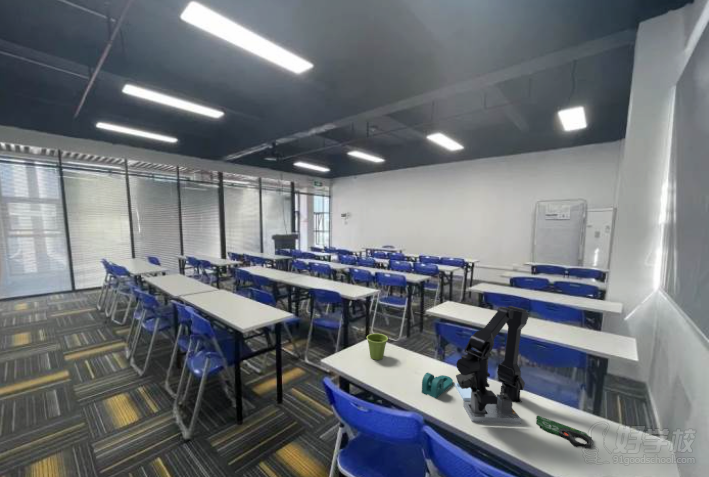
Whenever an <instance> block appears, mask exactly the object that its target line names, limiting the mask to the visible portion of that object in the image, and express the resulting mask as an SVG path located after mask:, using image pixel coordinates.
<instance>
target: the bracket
mask: <svg viewBox="0 0 709 477" xmlns="http://www.w3.org/2000/svg"><path fill="white" fill-rule="evenodd" d="M421 381H422V382H421V393H422V394H423V395H425V396H429V397H431V398H433V399H437V398H438V397H439V396H440V395H443V393H444V392H446V391H447V390H448V389H449V388H451V387H452V386H453V384H454V382H453V381H454V379H453V378H452V377H450V376H448V375H441V374H440V375H438V376H434V374H433V373H430V372H426V373H425V374H424V375H423V378H422V380H421Z"/></svg>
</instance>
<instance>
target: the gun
mask: <svg viewBox="0 0 709 477" xmlns="http://www.w3.org/2000/svg"><path fill="white" fill-rule="evenodd" d="M535 420H536V425H538V426H539V429H541V430H542V431H545V432H547V434H548V433H549V434H551V435H553V436H556V437H561V438H562V439H564V440H568V442H569V443H570V444H571V445H572V446H573V447H575V448H579V447H580V448H584V449H587V450H589V449H590V450H591V449H592V448H593V437H591V436H590V435H589V434H588V433H587V432H585V431H582V430H579V429H576V428H574V427H572V426H569V425H565V424H563V423H559V422H557V421H554V420H551V419H549V418H546V417H543V416H540V415H536V417H535ZM575 438H578V439H582V440H583V441H585V442H586V443H582V442H580V441H577V439H575Z"/></svg>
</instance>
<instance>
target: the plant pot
mask: <svg viewBox="0 0 709 477" xmlns="http://www.w3.org/2000/svg"><path fill="white" fill-rule="evenodd" d="M366 339H367V343H368V349H369V356H370V358H371V359H372V360H376V361H381V360H383V359H384V355H385V351H386V350H385V348H386V345H387V342H388V339H389V338H388V336H387V335H385V334H383V333H370V334H368V335H367V336H366Z"/></svg>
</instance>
